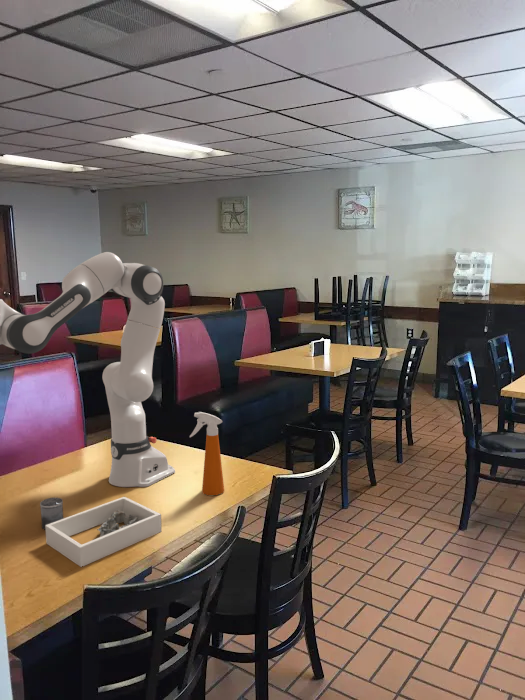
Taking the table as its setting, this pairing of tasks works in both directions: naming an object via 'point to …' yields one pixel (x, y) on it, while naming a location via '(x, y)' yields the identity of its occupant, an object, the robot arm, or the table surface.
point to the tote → (108, 543)
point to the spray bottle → (211, 454)
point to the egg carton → (114, 519)
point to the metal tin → (51, 511)
